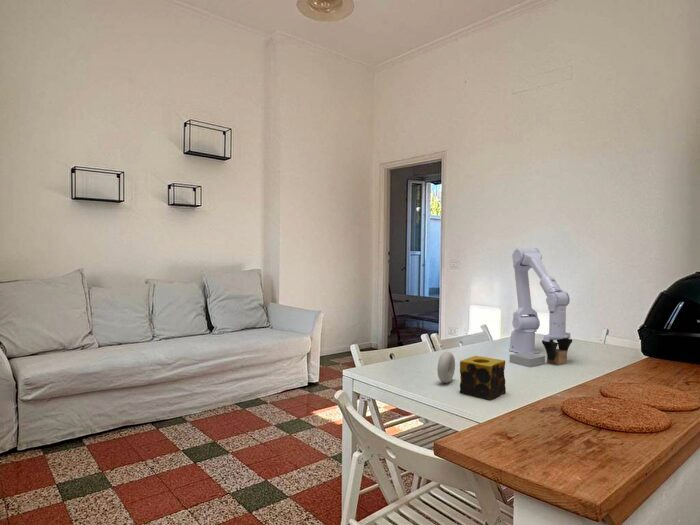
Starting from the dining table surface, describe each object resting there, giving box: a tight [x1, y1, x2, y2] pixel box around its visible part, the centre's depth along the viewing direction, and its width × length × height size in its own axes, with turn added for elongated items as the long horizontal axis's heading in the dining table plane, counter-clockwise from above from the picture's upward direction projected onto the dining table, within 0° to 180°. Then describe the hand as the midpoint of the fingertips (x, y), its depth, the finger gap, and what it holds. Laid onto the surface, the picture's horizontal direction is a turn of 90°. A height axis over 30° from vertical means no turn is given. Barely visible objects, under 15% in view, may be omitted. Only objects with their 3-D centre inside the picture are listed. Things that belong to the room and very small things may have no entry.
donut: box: [436, 351, 456, 384], centre depth 148 cm, size 10×4×10 cm, turn 148°
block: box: [546, 348, 568, 366], centre depth 175 cm, size 5×5×5 cm
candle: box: [459, 355, 507, 401], centre depth 137 cm, size 10×10×10 cm
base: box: [509, 352, 546, 368], centre depth 174 cm, size 9×9×3 cm
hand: (557, 358), depth 175 cm, fingers open, 7 cm apart
